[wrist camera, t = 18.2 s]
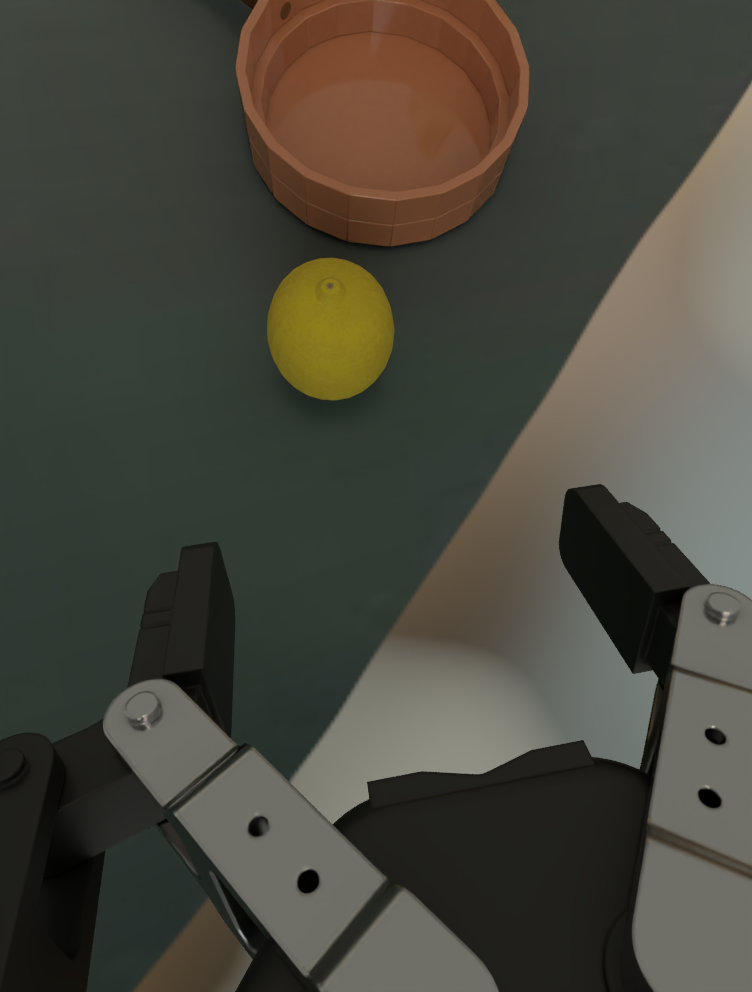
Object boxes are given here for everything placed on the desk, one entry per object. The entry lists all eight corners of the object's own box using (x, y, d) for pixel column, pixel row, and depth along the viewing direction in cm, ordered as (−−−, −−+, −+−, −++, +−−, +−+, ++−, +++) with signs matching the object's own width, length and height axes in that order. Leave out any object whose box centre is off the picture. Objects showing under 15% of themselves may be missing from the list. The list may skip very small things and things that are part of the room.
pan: (192, 133, 33) (173, 68, 29) (366, -21, 35) (370, -99, 32) (393, 300, 32) (402, 256, 28) (557, 129, 34) (585, 67, 31)
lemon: (390, 325, 32) (409, 230, 24) (380, 427, 30) (396, 364, 23) (283, 311, 31) (266, 210, 23) (268, 414, 30) (245, 345, 22)
